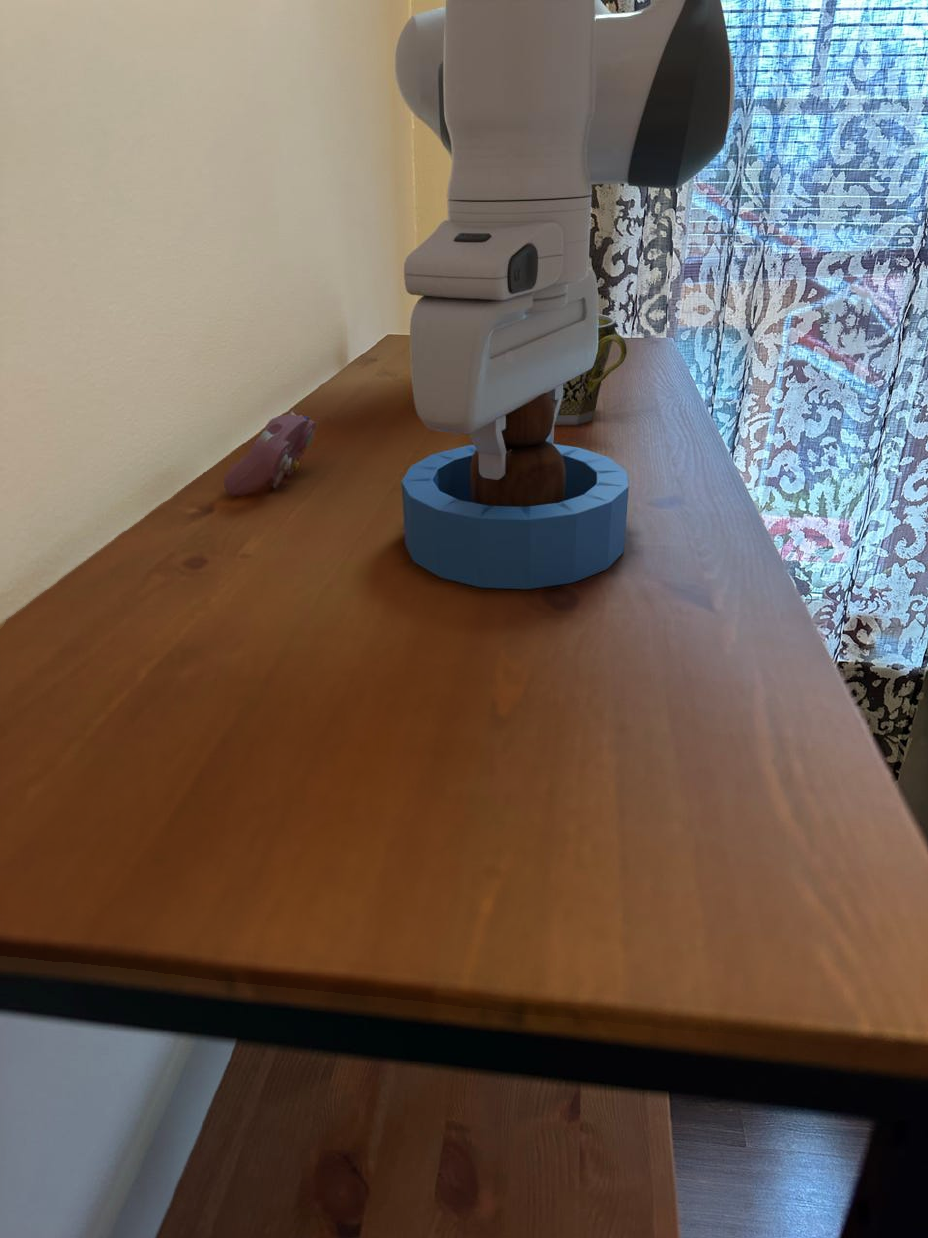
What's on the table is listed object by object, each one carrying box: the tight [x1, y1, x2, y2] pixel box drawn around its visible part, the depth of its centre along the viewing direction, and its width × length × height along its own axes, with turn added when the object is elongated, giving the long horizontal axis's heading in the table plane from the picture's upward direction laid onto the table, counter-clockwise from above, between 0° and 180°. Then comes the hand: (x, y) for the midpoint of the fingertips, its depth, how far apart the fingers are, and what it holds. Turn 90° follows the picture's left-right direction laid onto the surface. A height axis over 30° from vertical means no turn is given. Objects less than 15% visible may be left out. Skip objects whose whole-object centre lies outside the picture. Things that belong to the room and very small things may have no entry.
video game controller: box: [223, 411, 317, 497], centre depth 73 cm, size 10×5×7 cm, turn 168°
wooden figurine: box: [470, 393, 566, 507], centre depth 58 cm, size 7×6×15 cm
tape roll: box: [400, 443, 630, 590], centre depth 61 cm, size 16×16×5 cm
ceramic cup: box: [554, 313, 628, 426], centre depth 87 cm, size 13×10×10 cm
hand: (517, 461), depth 59 cm, fingers closed on wooden figurine, 5 cm apart
